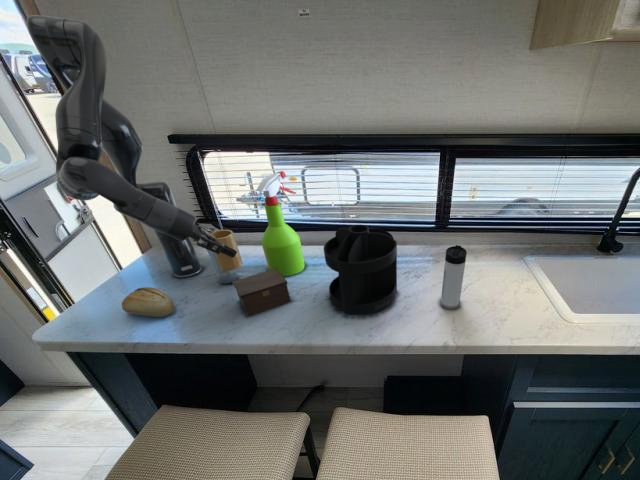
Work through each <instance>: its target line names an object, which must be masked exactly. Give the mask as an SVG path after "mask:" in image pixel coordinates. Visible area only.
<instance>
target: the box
mask: <svg viewBox="0 0 640 480" xmlns="http://www.w3.org/2000/svg"><path fill="white" fill-rule="evenodd" d="M231 283H232V286H233V287H234V289H235V291H236V294H237V296H238V299H239V302H240V304H241V307H243V309H244V311H245V313H246V315H247V317H250V316H253V315H256V314H259V313H261V312H264V311H268V310H270V309H273V308H276V307H278V306H282V305H285V304H288V303H291V296H290V293H289V289H288V281H287V279H286V277H283V276H282V275H281V273H280V272H279V271H278V270H277V268H276V269H272V270H269V269H268V270H266V271H262V272H259V273H255V274H252V275H248V276H245V277H242V278H238V279H236V280H234V281H232V282H231Z"/></svg>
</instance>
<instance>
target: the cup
mask: <svg viewBox="0 0 640 480" xmlns="http://www.w3.org/2000/svg"><path fill="white" fill-rule="evenodd" d="M210 234H211V235H213V236H214V237H216V238H217V241H219V242H221V243H223V244H224V245H226V246H228V247H230V248H232V249H234V250H236V251H237V254H236V255H235V257H230V256H228V255H226V254H223V253H221V252H220V254H216V253H214V255H215V258H216V261H217V263H218V266H219V268H220V269H221V270H224V271H229V270H234V269H235V270H237V269H239V268H240V267H242V266H243V259H242V256H241V253H240V249H239V246H238V244H237V240H236V238H235V233H234V231H232V230H231V229H218V230H217V231H214V232H213V233H210ZM211 240H212V239H211ZM214 247H215V248H217V247H218V246H216V245H214Z"/></svg>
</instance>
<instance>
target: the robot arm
mask: <svg viewBox="0 0 640 480" xmlns="http://www.w3.org/2000/svg"><path fill="white" fill-rule="evenodd" d="M26 27H27V30H28V34H29V36H30V38H31V40H32V42H33V44H34V46H35V47H36V49H37V51H38V52H39V54H40V55H41V57H42V59H43V60H44V62H45V63H46V64H47V66H48V67H49V68H50V70H51V71H52V72H53V74H54V76H55V77H56V79H57V80H58V81H59V82H60V84H61V85H62V87H63V88H64V89H65V93H64V94H63V95H62V96H61V98H60V99H59V101H58V103H57V105H56V108H55V112H54V113H55V132H56V133H55V134H56V140H57V152H56V162H55V163H56V164H55V181H56V183H57V186H58V187H59V189H60V190H61V192H63V193H64V194H66V195H67V196H68V197H70V198H72V199H74V200H77V201H91V200H93V199H96V198H98V197H99V196H100V197H102V198H104V199H106V200H107V201H109V202H111V204H113V205H112V206H113V209H114V210H115V211H116V212H118V213H120V214H121V215H123V216H126V217H127V218H129V219H132V220H134V221H137V222H140V223H142V224H143V225H145V226H147V227H149V228H150V229H152V230H153V233H154V235H155V237H156V239H157V241H158V243H159V246H160V247H161V249H162V251H163V253H164V256H165V258H166V260H167V263H168V264H169V266H170V268H171V271H172V272H173V275H174V277H176V278H180V279H183V278H189V277H194V276H196V275H197V274H199V273H201V272H202V270H203V267H202V265H201V263H200V260H199V258H198V255H197V253H196V251H195V248H194V246H193V243H192V241H191V239H192V240H193V242H195V243H196V245H197V246H198V247H200V248H203V249H204V250H206V249H207V250H210V251H212V252H214V253H216V254H220V252H221V253H223V254H226V255H228V256H230V257H235V255H236V254H237V251H236V250H234V249H232V248H230V247H228V246H226V245H224V244H223V243H221V242H219V241H217V238H216V237H214V236H213V235H211V234H210V233H213V232H214V231H213V230H211V229H209V228H210V227H207V226H205V225H203V224H201V223H199V222H198V221H197V218H196V216H195V215H193V214H191V213H189V212H187V211H186V210H184V209H182V208H180V207H178V206H177V203H176V201H175V198H174V194H173V192H172V190H171V187H170V186H169V185H168V184H167V183H166V182H165V181H154V182H153V181H152V182H145V183H143V182H142V183H139V182H138V179H137V175H138V168H139V166H140V162H141V160H142V156H143V148H144V147H143V144H142V141H141V139H140V137H139V135H138V133H137V131H136V130H135V127H134V125H133V123H132V122H131V120H130V119H128V117H127V116H126V115H124V113H122V111H121V110H119V109H118V108H117V107H115V106H114V105H113V104H112V103H110V102H109V101H108V100H107V99H105V98H104V95H105V87H106V79H107V73H108V72H107V71H108V60H107V59H108V57H107V53H106V49H105V47H104V44H103V41H102V39H101V37H100V36H99V34H98V33H97V31H96V29H94V28H93V27H92V25H91V24H89V23H88V22H86V21H82V20H79V19H73V18H65V17H57V16H50V15H41V14H31V15H29V16H28V17H27V18H26ZM103 151H104V153H105V154H106V156H107V157H108V159H109V160H110V162H111V164H112V165H113V166H114V168H115V170H116V171H117V172H116V171H114V170H113V169H111V168H110V167H108V166H107V165H105V164H103V163H102V162H100V158H101V156H102V154H103ZM211 239H212V240H211ZM214 245H216V246H218V247H217V248H215V247H214ZM207 250H206V251H207Z"/></svg>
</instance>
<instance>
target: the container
mask: <svg viewBox="0 0 640 480" xmlns="http://www.w3.org/2000/svg"><path fill="white" fill-rule="evenodd" d="M323 254H324V260H325V264H326V265H327V267H328V268H329V269H331V270H332V271H334V272H336V273H337V274H338V276H336V277H335V278H334V279H332V281H331V282H330V284H329V286H328V291H329V300H330V303H331V305H332V306H333V307H334V308H335V309H337V310H338V311H340V312H342V313H343V314H345V315H347V316H365V315H371V314H375V313H379V312H381V311H383V310H385V309H387V308H388V307H390V306H391V305H392V304H393V303H394V301H395V299H396V297H397V294H398V293H397V292H398V273H397V272H398V242H397V240H396V239H394V236H393V235H392V234H391V233H390V232H389V231H387V230H384V229H381V228H375V227H369V226H367V225H365V224H354V225H347V226H345V227H340V228H337V230H336V231H335V235H334V237H332V238H330V239H328V241H326V242H325V244H324V245H323Z"/></svg>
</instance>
